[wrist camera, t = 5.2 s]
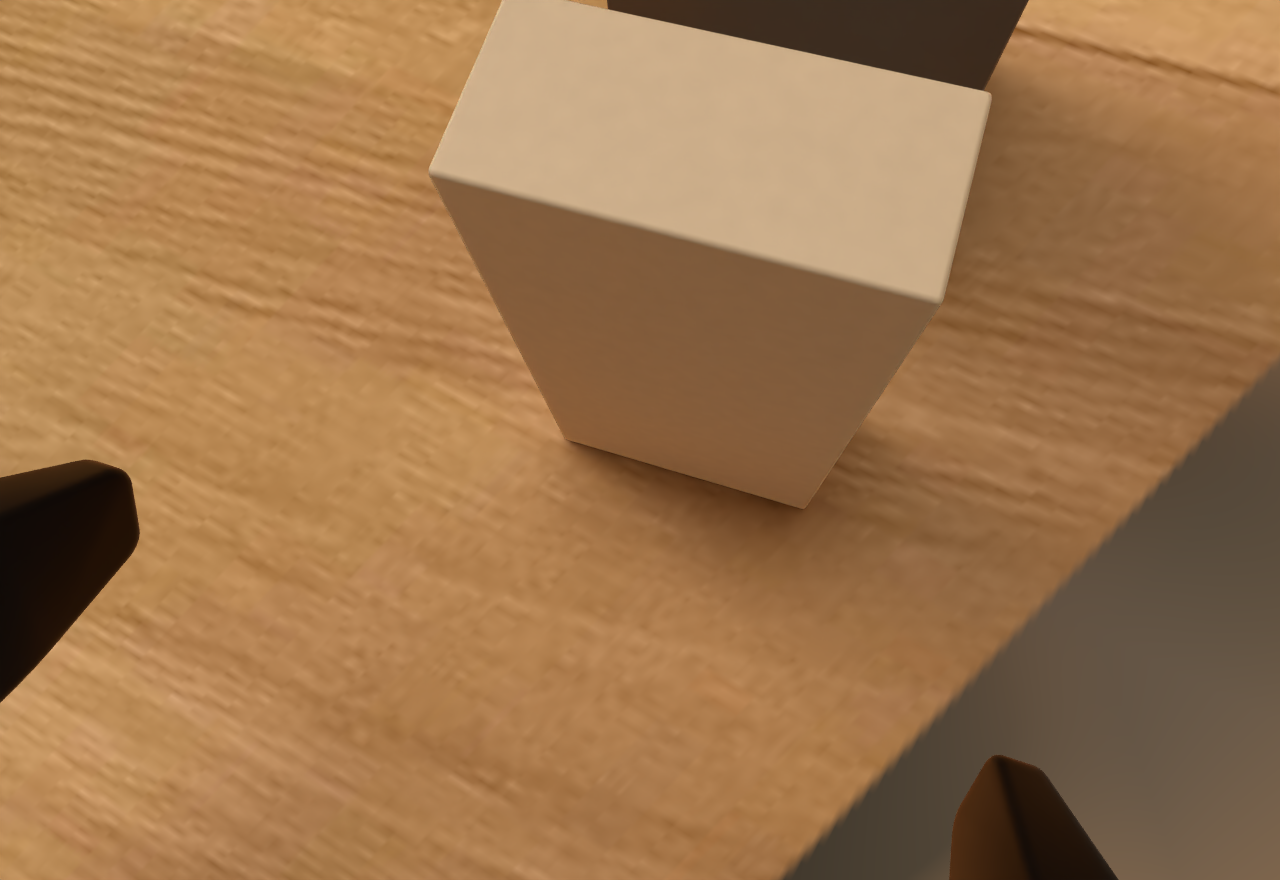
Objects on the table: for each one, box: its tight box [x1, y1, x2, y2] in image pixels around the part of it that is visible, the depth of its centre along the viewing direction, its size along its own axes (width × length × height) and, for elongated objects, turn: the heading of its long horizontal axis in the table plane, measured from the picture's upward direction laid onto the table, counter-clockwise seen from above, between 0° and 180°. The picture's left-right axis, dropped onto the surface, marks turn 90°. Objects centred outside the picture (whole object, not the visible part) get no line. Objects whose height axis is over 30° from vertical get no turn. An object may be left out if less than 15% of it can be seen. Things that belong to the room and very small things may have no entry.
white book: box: [429, 0, 992, 509], centre depth 16 cm, size 3×6×12 cm, turn 72°
